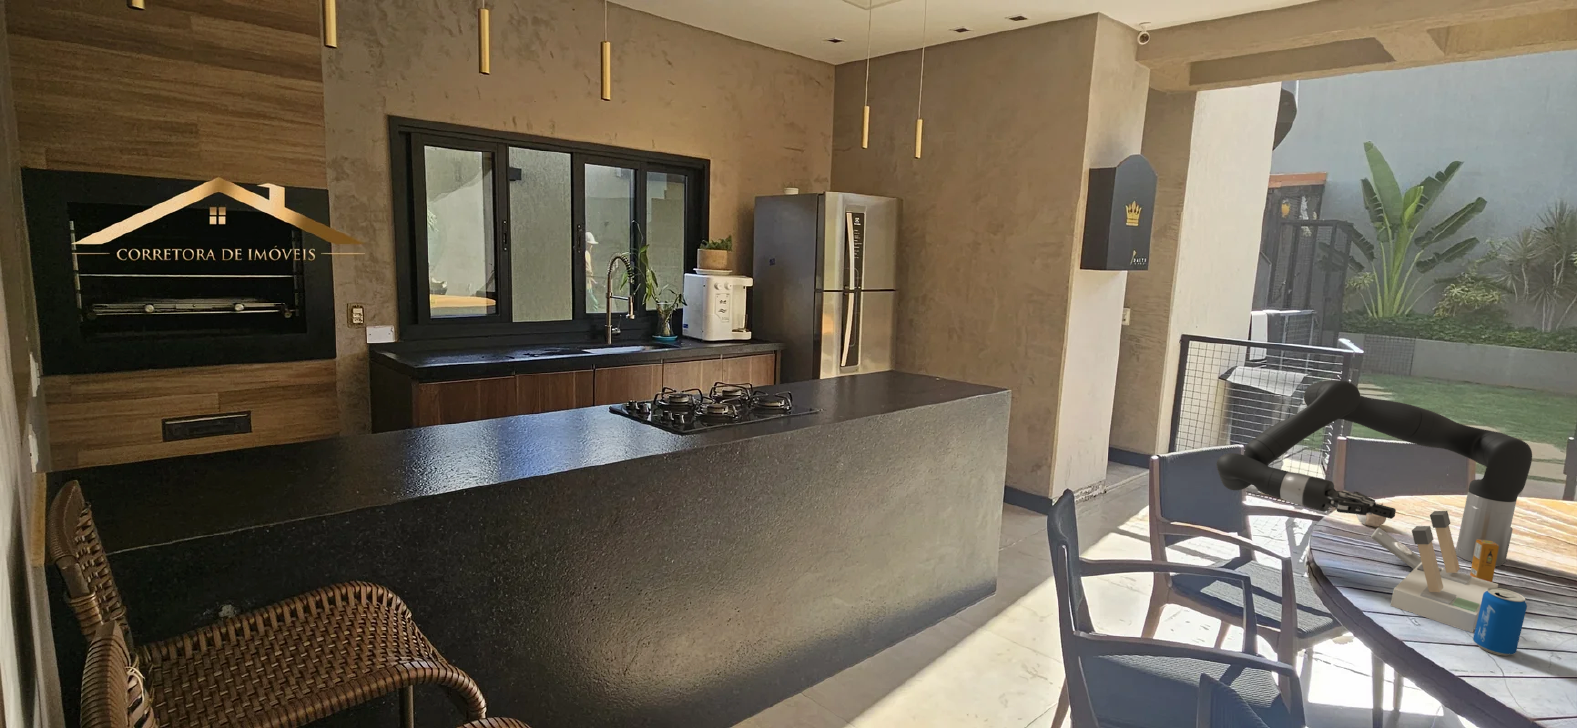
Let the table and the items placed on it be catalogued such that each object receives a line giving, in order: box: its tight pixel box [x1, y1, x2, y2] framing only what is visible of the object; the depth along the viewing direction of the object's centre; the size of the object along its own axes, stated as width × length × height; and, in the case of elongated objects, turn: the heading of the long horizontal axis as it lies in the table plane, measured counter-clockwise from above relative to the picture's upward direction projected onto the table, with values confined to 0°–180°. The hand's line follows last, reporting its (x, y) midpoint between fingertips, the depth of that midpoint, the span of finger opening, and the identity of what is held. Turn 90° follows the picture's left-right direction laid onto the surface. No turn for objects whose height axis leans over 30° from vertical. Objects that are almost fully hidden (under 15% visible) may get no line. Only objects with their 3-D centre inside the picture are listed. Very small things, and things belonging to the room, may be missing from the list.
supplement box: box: [1469, 539, 1499, 582], centre depth 185 cm, size 3×3×10 cm
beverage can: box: [1472, 587, 1528, 657], centre depth 154 cm, size 6×6×12 cm
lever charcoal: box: [1429, 510, 1461, 573], centre depth 178 cm, size 2×4×14 cm, turn 128°
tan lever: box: [1411, 525, 1443, 592], centre depth 168 cm, size 2×4×14 cm, turn 129°
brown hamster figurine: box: [1355, 502, 1387, 528], centre depth 219 cm, size 7×6×8 cm
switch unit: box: [1390, 562, 1499, 633], centre depth 173 cm, size 14×24×4 cm, turn 129°
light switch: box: [1370, 527, 1422, 570], centre depth 194 cm, size 8×5×13 cm
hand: (1394, 513), depth 172 cm, fingers closed
